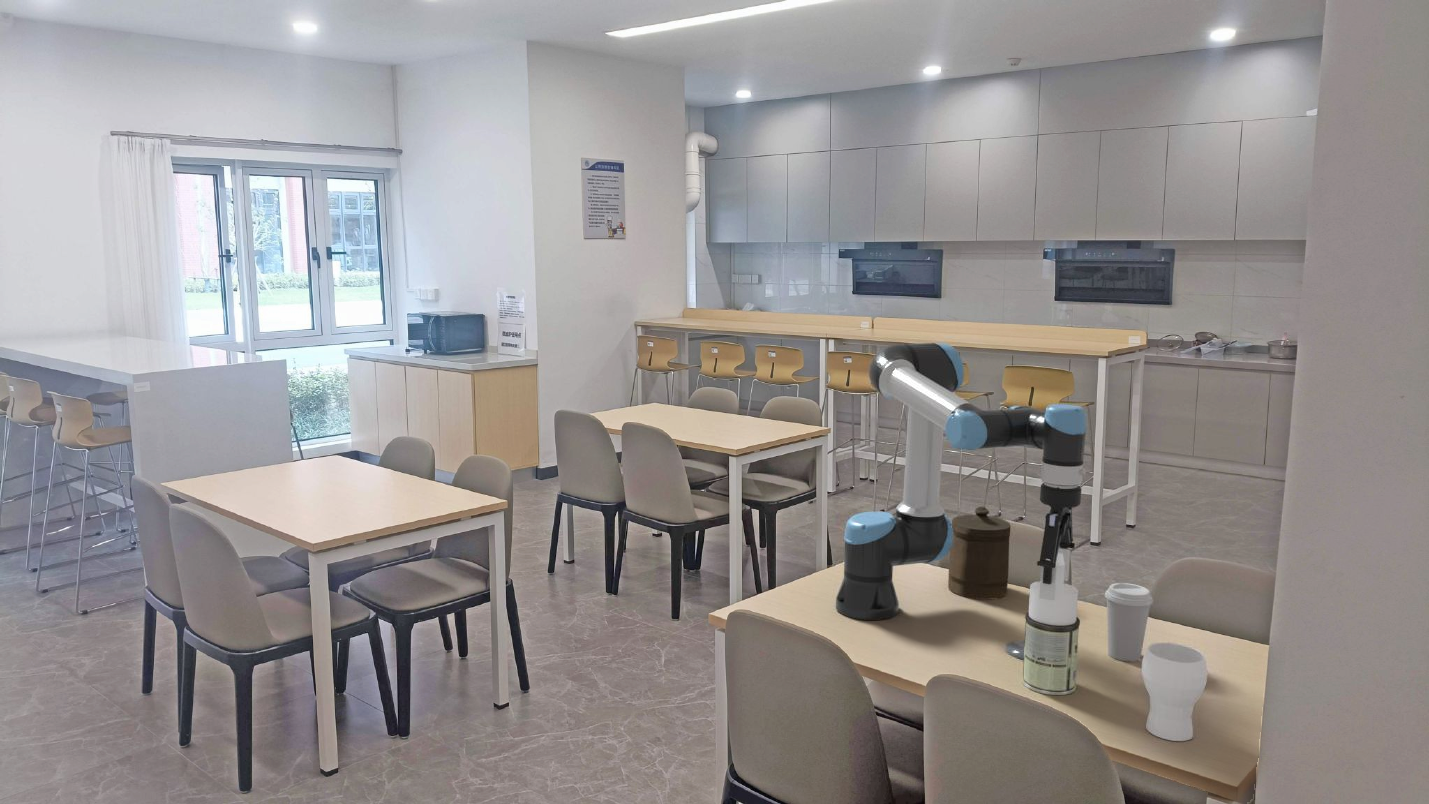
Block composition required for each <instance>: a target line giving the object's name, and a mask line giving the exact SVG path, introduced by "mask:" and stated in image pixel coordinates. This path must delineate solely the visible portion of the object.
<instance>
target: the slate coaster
mask: <svg viewBox="0 0 1429 804" xmlns="http://www.w3.org/2000/svg"><path fill="white" fill-rule="evenodd" d="M1024 646H1025V640H1013V641H1010V642H1008V643H1007V644H1006V645H1005V652H1006V653H1007V654H1009V655H1010V656H1011V657H1014V658H1016V659H1019V660H1023V661H1024Z"/></svg>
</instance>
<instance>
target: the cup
mask: <svg viewBox="0 0 1429 804" xmlns="http://www.w3.org/2000/svg"><path fill="white" fill-rule="evenodd" d="M1207 666H1208V665H1207V660H1206V657H1205V654H1204V653H1203V652H1201V651H1200V650H1198V649H1196V648H1194V647H1191V646H1188V645H1184V644H1180V643H1175V642H1174V643H1173V642H1154V643H1151V644H1149V645H1147V647H1146V649H1145V652H1144V655H1143V657H1142V661H1141V674H1142V679H1143V684H1144V686H1145V688H1146V691H1147V692H1148V695H1149V707H1150V708H1149V713H1148V716H1147V719H1146V722H1145V723H1146V725H1145V729H1146V730H1147V731H1148V732H1149V733H1150V734H1151V735H1153V736H1155V737H1158V738H1160V739H1163V740H1167V741H1173V742H1185V741H1189V740H1191V739H1193V736H1194V729H1193V728H1194V727H1193V718H1192V716H1193V711H1194V707H1195V704H1196V703H1197V701H1198V700H1199V699H1200V698H1201V696H1202V694H1203V692H1204V690H1205V688H1206V685H1207V682H1208V667H1207Z"/></svg>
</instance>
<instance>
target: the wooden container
mask: <svg viewBox="0 0 1429 804" xmlns="http://www.w3.org/2000/svg"><path fill="white" fill-rule="evenodd" d="M974 513H975V514H966V515H964V514H963V515H958V516H955V517H953V518H952V520H951V524H952V525H951V528H953V543H952V546H951V549H950V551H949V557H948V558H949V559H948V560H949V561H948V580H947V581H948V582H947V588H948V590H950V591H951V592H952V593H954V594H956V595H959V596H961V597H965V598H970V599H976V598H977V599H976V600H994V599H995V598H996V599H999V598H1003V597H1005V596H1006V595H1007V593H1008V584H1009V582H1008V580H1009V566H1010V565H1009V564H1010V563H1009V561H1010V558H1009V557H1010V536H1011V524H1010V522H1009V521H1007V520H1005V519H1002V518H998V517H996V516H991V515H990V516H989V514H990V511H989V509H988V508H986V507H985V506H977V507H976V508H975V510H974Z"/></svg>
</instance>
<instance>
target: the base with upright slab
mask: <svg viewBox="0 0 1429 804" xmlns="http://www.w3.org/2000/svg"><path fill="white" fill-rule="evenodd" d="M1046 560H1050V559H1046ZM1056 567H1057V571H1056V586H1055V600H1054V601H1053V600H1047V599H1042V598H1039V594H1040V581H1034V582H1032V583H1031V584H1030V587H1029V601H1028V611H1029V617H1030V618H1031V619H1033V620H1035V621H1037V622H1040V623H1044V624H1048V625H1057V626H1065V625H1071V624H1074V623H1075V622H1076V617H1078V616H1077V615H1078V614H1077V613H1078V601H1079V600H1078V598H1079V597H1078V596H1079V590H1078V588H1076V587H1075V586H1073V585H1071V584H1069V583H1065V580H1064V571H1065V564H1064V557H1063V554H1061V553H1058V555H1057V560H1056Z"/></svg>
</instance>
